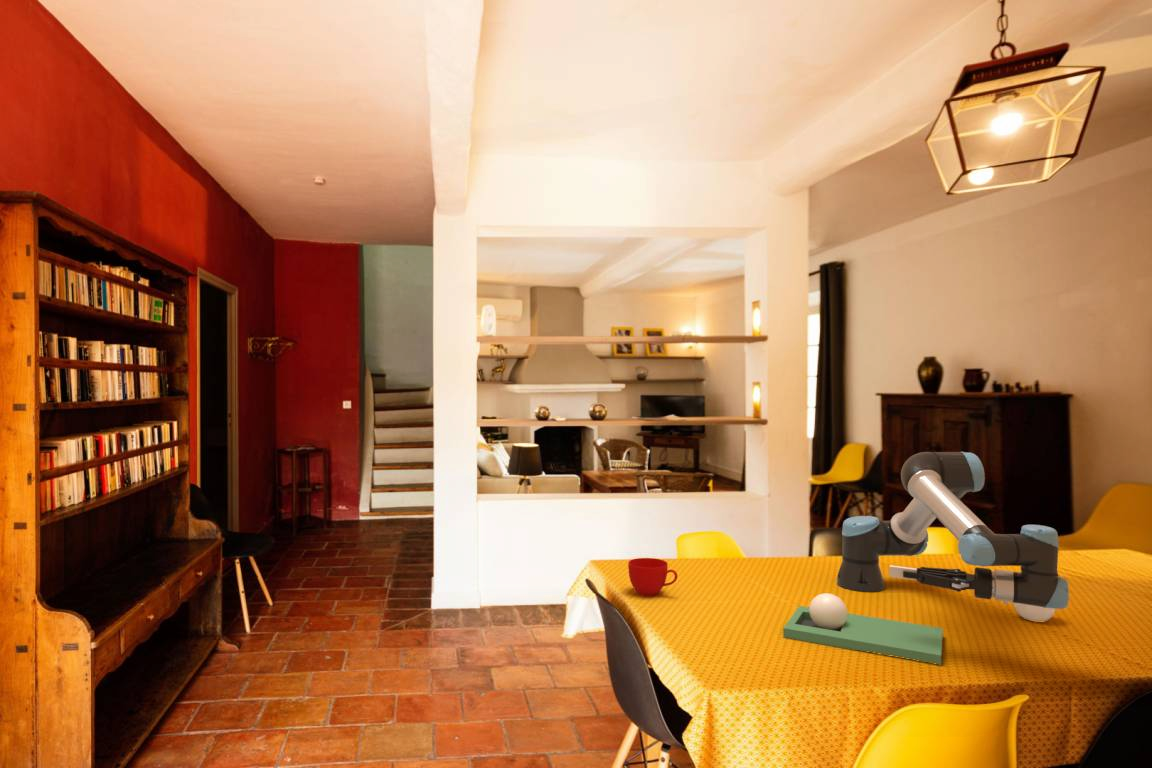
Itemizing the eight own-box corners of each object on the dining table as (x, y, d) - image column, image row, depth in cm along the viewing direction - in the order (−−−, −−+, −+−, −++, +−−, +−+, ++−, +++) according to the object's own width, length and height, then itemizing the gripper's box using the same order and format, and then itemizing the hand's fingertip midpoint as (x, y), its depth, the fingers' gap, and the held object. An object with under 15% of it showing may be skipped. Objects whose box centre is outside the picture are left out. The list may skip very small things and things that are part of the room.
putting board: (942, 637, 187) (942, 628, 187) (941, 665, 168) (941, 655, 168) (799, 614, 205) (799, 605, 205) (783, 637, 186) (783, 628, 186)
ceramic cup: (668, 603, 215) (668, 571, 215) (621, 594, 224) (621, 564, 224) (684, 593, 226) (685, 562, 226) (639, 585, 235) (639, 556, 235)
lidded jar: (1004, 613, 207) (1004, 582, 207) (1037, 613, 208) (1037, 582, 208) (1030, 626, 196) (1030, 593, 196) (1065, 625, 197) (1065, 592, 197)
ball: (825, 597, 200) (839, 632, 195) (797, 601, 196) (810, 637, 191) (845, 586, 192) (860, 622, 187) (816, 590, 188) (831, 627, 183)
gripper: (993, 606, 166) (887, 591, 178) (991, 592, 177) (891, 578, 189) (993, 576, 166) (887, 562, 177) (991, 563, 177) (891, 551, 189)
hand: (889, 570), depth 183 cm, fingers closed
